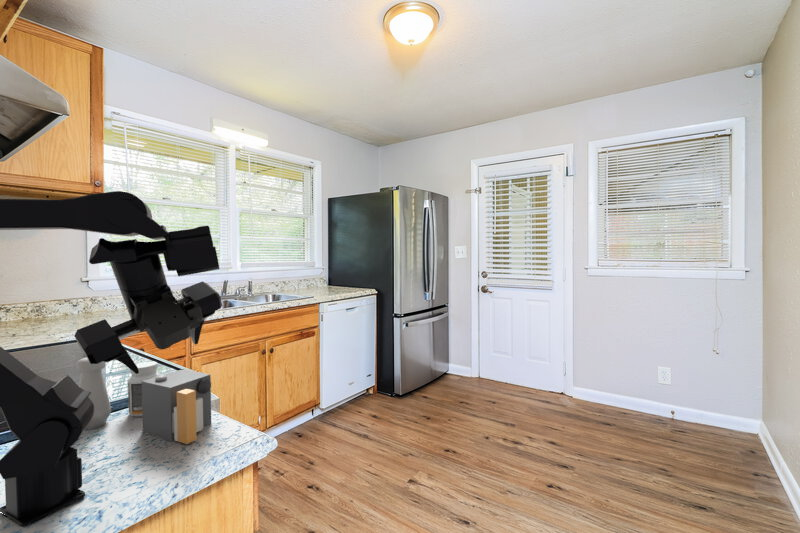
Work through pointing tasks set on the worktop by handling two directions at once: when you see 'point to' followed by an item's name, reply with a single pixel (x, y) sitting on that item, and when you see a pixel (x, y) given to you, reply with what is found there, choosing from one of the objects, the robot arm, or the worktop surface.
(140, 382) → the pill bottle
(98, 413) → the salt shaker
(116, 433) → the worktop surface
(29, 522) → the robot arm
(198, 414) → the wooden upright post
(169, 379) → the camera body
